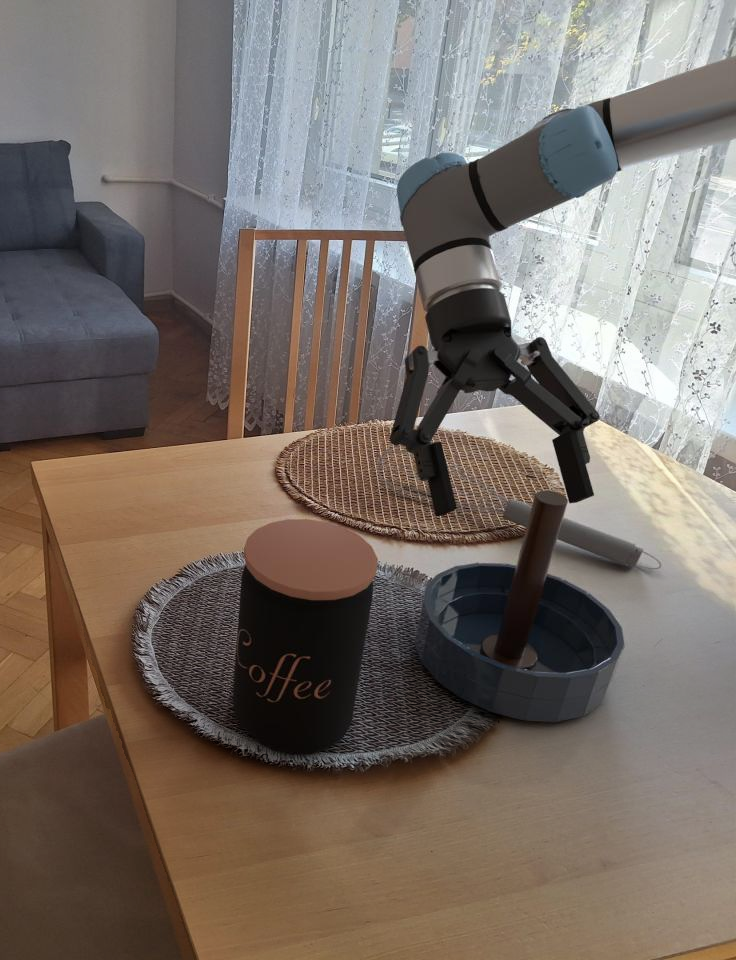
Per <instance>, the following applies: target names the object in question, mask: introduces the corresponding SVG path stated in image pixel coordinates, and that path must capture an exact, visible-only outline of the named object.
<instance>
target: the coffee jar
mask: <svg viewBox="0 0 736 960" xmlns="http://www.w3.org/2000/svg"><path fill="white" fill-rule="evenodd" d="M243 559H244V563H245V564H244V567H243V570H242V572H241V579H240V591H239V592H240V593H239V605H238V607H239V608H238V619H237V634H236V646H235V647H236V648H235V661H234V673H233V675H234V676H233V686H232V705H233V711H234V715H235V716H236V718H237V720H238V722H239V723H240V724H241V726H242V728H243V729H244V730H245V731H246V732H247V734H248V735H249V736H251V737H252V738H253V739H254V740H255V741H256V742H258V743H259V744H260V745H262V746H264V747H266V748H268V749H270V750H272V751H274V752H277V753H282V754H287V755H292V756H299V755H300V756H301V755H303V756H305V755H309V756H310V755H312V754H316V753H317V754H318V753H320V752H323V751H326V750H327V749H329V748H330V747H332V746H334V745H335V744H336V743H339V742H340V741H341V740H342V739H343V738H344V737H345V735H346V734H347V733H348V731H349V729H350V728H351V726H352V722H353V717H354V710H355V705H356V699H357V692H358V686H359V681H360V675H361V669H362V662H363V657H364V651H365V644H366V639H367V633H368V627H369V621H370V615H371V609H372V604H373V597H374V579H375V578H376V576H377V575H376V574H377V571H378V560H379V559H378V556H377V554H376V552H375V550H374V548H373V546H372V545H371V544H370V543H368V541H367V540H366V539H364V537H362V536H361V535H360V534H357V533H356V532H354V531H352V530H350V529H348V528H346V527H345V526H344V527H343V526H341V525H337V524H334V523H331V522H329V521H323V520H317V519H316V520H315V519H310V518H309V519H308V518H290V519H283V520H279V521H272V522H269V523H267V524H265V525H262V526H261V527H258V528H256V529H255V530H254V531H253V532H252V533H251V534H250V535H249V536H248V537H247V538H246V541H245V544H244V547H243Z"/></svg>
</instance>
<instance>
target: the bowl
mask: <svg viewBox="0 0 736 960" xmlns="http://www.w3.org/2000/svg"><path fill="white" fill-rule="evenodd" d="M516 565H517V564H511V563H506V562H505V563H503V562H501V563H500V562H472V563H467V564H466V563H465V564H460V565H455V566H453V567H449V568H447V569H446V570H444V571H441V572H439V573H437V574H435V576H434V577H433V578H432V579H431V581H429V582H428V584H427V585H426V586H425V588H424V593H423V598H422V603H421V607H420V613H419V617H418V621H417V628H416V634H415V639H414V645H415V649H416V652H417V654H418V657H419V660H420V662H421V664H422V665H423V666H424V667H425V669H426V670H427V671H428V672H429V673H430V675H431V676H432V677H433V678H434V679H435V681H437V682H438V683H439V684H440V685H441V686H443V687H444V688H445V689H447V690H448V691H450V692H451V693H453V694H454V695H455V696H457V697H458V698H460V699H462V700H464V701H466V702H468V703H470V704H473V705H475V706H476V707H479V708H482V709H484V710H485V711H488V712H491V713H493V714H497V715H502V716H505V717H509V718H513V719H517V720H521V721H525V722H526V721H527V722H545V723H546V722H547V723H548V722H549V723H556V722H557V723H559V722H562V721H567V720H572V719H573V720H574V719H578V718H583V717H585V716H587V715H588V714H589V713H591V712H593V711H594V710H596V709H598V708H599V707H601V706H602V705H603V702H604V701H605V698H606V697H607V695H608V693H609V690H610V688H611V686H612V683H613V680H614V677H615V675H616V672H617V668H618V667H619V663H620V662H621V661H620V660H621V658H622V655H623V652H624V649H625V645H626V644H625V640H624V638H625V637H624V632H623V627H622V625H621V624H620V622H619V621H618V620H617V618H616V617H615V615H614V614H613V613H612V610H610V609H609V608H608V607H607V606H606V605H604V603H602V602H601V601H600V600H599V599H597V598H596V597H595V596H594V595H592V594H591V593H590V592H589V591H586V590H585V589H583V588H580V587H579V586H578V585H575V584H574V583H571V582H570V581H568V580H566V579H564V578H561V577H558V576H556V575H553V574H551V573H547V576H546V580H545V583H544V587H543V590H542V594H541V597H540V601H539V604H538V608H537V611H536V615H535V618H534V622H533V625H532V629H531V632H530V636H529V639H528V644H530V645H531V646H532V647H533V648H534V650H535V651H536V653H537V657H538V658H537V663H536V666H535V668H534V669H533V670H531V671H530V670H526V669H522V668H517V667H513V666H509V665H505V664H502V663H500V662H497V661H495V660H493V659H490V658H488V657H486V656H483V655H481V652H480V649H481V644H482V642H483V640H484V639H485V638H486V637H488V636H490V635H495V634H498V633H499V630H500V626H501V622H502V618H503V614H504V611H505V607H506V603H507V599H508V595H509V592H510V588H511V584H512V580H513V576H514V573H515V569H516Z"/></svg>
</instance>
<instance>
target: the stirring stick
mask: <svg viewBox="0 0 736 960" xmlns="http://www.w3.org/2000/svg"><path fill="white" fill-rule="evenodd" d="M568 504H569V500H568V497H567V496H565V495H564V494H563V493H560V492H557V491H553V490H539V491H536V492H535V494H534V497H533V501H532V504H531V506H532V508H531V512H530V516H529V520H528V523H527V527H525V531H524V535H523V539H522V543H521V545H520V546H521V547H520V550H519V554H518V558H517V561H516V564H515V565H516V569H515V573H514V576H513V580H512V584H511V588H510V592H509V595H508V599H507V603H506V607H505V611H504V614H503V618H502V622H501V626H500V630H499V633H498V634H495V635H490V636H488V637H486V638H485V639H484V640H483V642H482V644H481V649H480V652H481V655H483V656H486V657H488V658H490V659H493V660H495V661H497V662H500V663H502V664H505V665H509V666H513V667H517V668H522V669H526V670H530V671H531V670H533V669H534V668H535V666H536V663H537V658H538V657H537V653H536V651H535V650H534V648H533V647H532V646H531V645H530V644H528V639H529V636H530V632H531V629H532V625H533V622H534V618H535V615H536V611H537V608H538V604H539V601H540V597H541V594H542V590H543V587H544V583H545V580H546V576H547V573H548V572H549V569H550V565H551V562H552V559H553V555H554V552H555V548H556V545H557V541H558V540H557V538H558V534H559V531H560V527H561V524H562V520H563V518H565V513H566V510H567V508H568V507H567V506H568ZM548 574H549V573H548Z"/></svg>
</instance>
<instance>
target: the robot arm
mask: <svg viewBox="0 0 736 960" xmlns="http://www.w3.org/2000/svg"><path fill="white" fill-rule="evenodd" d="M733 140H736V55H733V56H730V57H727V58H724V59H721V60H718V61H714V62H711V63H709V64H708V63H707V64H705V65H703V66H700V67H695V68H693V69H690V70H687V71H684V72H681V73H678V74H675V75H671V76H669V77H666V78H662V79H660V80H656V81H654V82H651V83H648V84H645V85H642V86H638V87H635V88H632V89H629V90H626V91H623V92H620V93H618V94H614V95H611V96H610V97H607V98H604V99H599V100H596V101H593V102H590V103H587V104H584V105H581V106H578V107H575V108H564V109H561V110H557V111H555V112H553V113H550V114H548V115H545V116H544V117H543V118H542V119H540V120H539V121H538V122H536V123H535V124H534V125H533V126H532V128H531V129H529V130H528V131H526V132H525V133H524V134H522V135H521V136H520V135H519V136H518V137H517V138H515V139H513V140H511V141H509V142H508V143H506V144H504V145H502V146H501V147H499V148H497V149H495V150H493V151H491V152H489V153H487V154H485V155H484V156H482V157H480V158H477V159H475V160H473V161H470V162H469V161H468V160H467V158H465V156H463V155H462V154H459V153H456V152H441V153H438V154H436V155H435V156H432V157H429V156H426V157H424V158H422V159H420V160H418V161H416V162H415V163H413V164H412V165H411V166H409V167H408V168H407V169H406V170H405V171H404V172H403V173H402V174H401V176H400V177H399V180H398V182H397V184H396V197H397V202H398V209H399V220H400V225H401V227H402V228H403V233H404V236H405V240H406V243H407V248H408V251H409V255H410V259H411V264H412V267H413V272H414V276H415V279H416V285H417V288H418V293H419V297H420V301H421V305H422V308H423V311H424V312H426V314H425V316H424V319H425V323H426V327H427V333H428V337H429V339H430V340H429V341H430V344H431V346H432V347H433V349H434V350H428V349H427V347H426V346H424V345H417V346H416V347H415V348H414V349H413V350H412V351H411V352H410V353H409V354H408V355H406V357H405V358H404V366H405V376H406V377H405V380H404V385H403V388H402V392H401V395H400V399H399V403H398V406H397V409H396V414H395V418H394V421H393V425H392V428H391V432H390V436H389V442H390V443H391V445H393V446H400V445H404V446H403V447H405V451H408V452H407V453H409V454H412V455H413V456H414V457H413V458H414V463H415V466H416V470H417V471H416V472H417V477H419V478H420V479H419V478H418V479H419V480H420V481H421V482H427V481H428V482H427V484H428V489H429V494H431V495H430V498H432V499H431V503H432V504H433V505H432V506H433V511H434V515H435V517H442V516H445V515H447V514H449V513H451V512H453V511H455V510H458V509H457V508H458V505H456V504H457V502H455V501H456V499H455V495H454V491H453V490H454V489H453V485H451V484H452V481H451V477H450V472H448V471H449V469H448V468H449V467H448V466H447V465H448V464H447V461H446V460H447V459H446V456H445V451H444V448H443V444H442V441H434V442H431V441H432V440H433V438H434V437H435V435H436V433H437V431H438V429H439V428H440V426H441V425H442V423H443V420H444V419H445V417H446V415H447V414H448V412H449V410H450V408H451V407H452V405H453V403H454V402H455V401H456V399H457V397H458V395H459V393H460V392H461V391H463V393H464V394H472V393H475V392H478V391H482V392H495V391H496V390H497V389H498V390H500V391H501V393H503V394H505V395H507V396H508V395H509V396H511V397H513V399H515V400H516V401H517V402H519V403H520V404H521V405H522V406H523V407H525V408H526V409H527V410H528V411H529V412H531V413H532V414H533V415H534V416H536V417H537V418H538V419H539V420H540V421H541V422H543V423H544V424H545V425H546V426H548V427H549V428H550V429H551V430H552V431H553V432H555V433H556V434H557V435H558V436H555V438H553V439H551V441H552V445H553V449H554V453H555V456H556V460H557V463H558V467H559V471H560V475H561V478H562V482H563V485H564V489H565V493H566V498H567V499H568V504H577V503H579V502H582V501H584V500H586V499H589V498H591V497H592V498H593V497H595V493H594V489H593V486H592V482H591V479H590V475H589V472H588V467H587V464H589V463H591V455H590V452H589V448H588V445H587V441H586V438H585V435H584V431H585V429H586V428H588V427H589V426H591V425H593V424H595V423H597V422H598V421H599V420H600V418H601V416H600V413H599V411H597V409H596V408H595V407H594V406H593V404H592V403H591V402H590V400H589V399H588V398H587V397H586V396H585V395H584V393H583V391H581V389H579V387H578V386H577V385H576V384H575V382H574V381H573V380H572V378H570V376H569V375H568V374H567V372H566V371H565V370H564V369H563V367H562V366H561V365H560V364H559V363H558V362H557V360H556V359H555V358H554V357H553V355H552V352H551V350H550V348H549V345H548V342H547V340H546V339H545V338H544V337H542V336H538V337H536V338H535V339H533V340H531V342H525V343H520V344H518V343H517V342H516V341H515V339H514V337H513V336H512V319H511V315H510V311H509V307H508V305H507V300H506V296H505V294H504V293H503V292H502V291H501V290H502V286H503V284H502V280H501V276H500V273H499V270H498V269H499V268H498V266H497V263H496V259H495V256H494V252H493V248H492V244H491V243H490V237H491V236H493V235H496V234H497V233H499V232H502V231H504V230H507V229H508V228H509V227H512V226H514V225H517V224H519V223H521V222H523V221H525V220H528V219H530V218H532V217H534V216H537V215H539V214H542V213H543V212H546V211H548V210H551V209H552V208H556V207H557V206H559V205H561V204H564V203H566V202H568V201H571V200H573V199H579V198H581V197H584V196H585V195H586V194H587V193H589V192H591V191H592V190H594V189H596V188H597V187H600V186H601V185H604V184H606V183H608V182H609V181H611V180H612V179H613V178H615V176H616V175H617V173H618V172H622V171H624V170H627V169H628V170H629V169H631V168H635V167H638V166H642V165H645V164H649V163H653V162H657V161H660V160H664V159H668V158H671V157H675V156H678V155H682V154H685V153H689V152H693V151H697V150H699V149H705V148H708V147H711V146H715V145H719V144H721V143H726V142H729V141H733ZM519 360H520V362H519ZM433 366H434V367H435V368H436V369H437V370H438V371H439V372H440V373H441V374H442V375H443V376H444V379H443V381H442V383H441V384H440V386H439V388H438V389H437V392H436V395H435V397H434V398H433V399H432V401H431V403H430V405H429V407H428V409H427V410H426V412H425V414H424V415H423V417H422V419H421V421H420V422H419V424H418V426H417V428H416V429H415V425H416V422H417V419H418V414H419V410H420V407H421V404H422V399H423V395H424V391H425V388H426V384H427V380H428V377H429V372H430V370H432V369H433ZM511 376H512V377H513V379H511ZM445 459H446V460H445Z"/></svg>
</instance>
